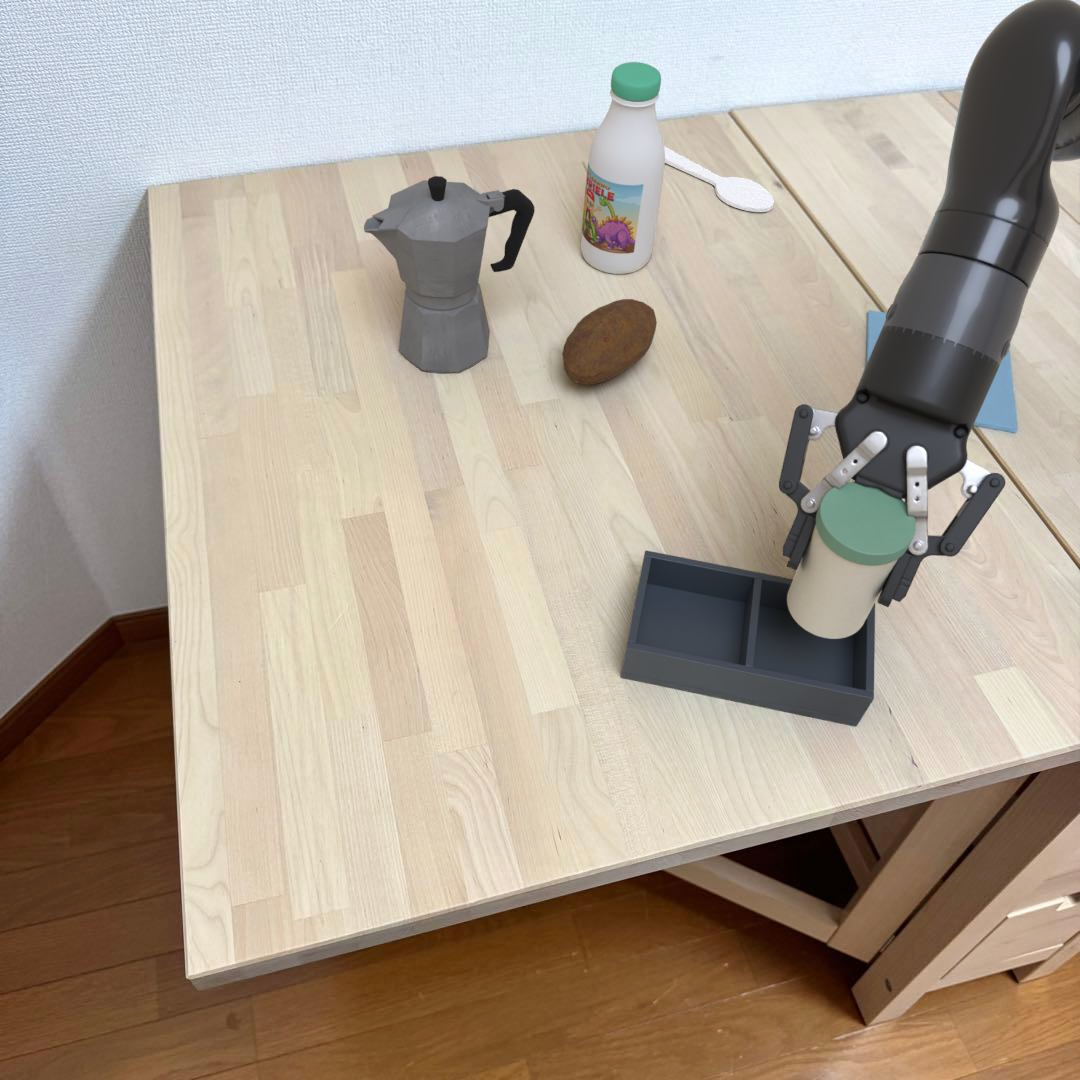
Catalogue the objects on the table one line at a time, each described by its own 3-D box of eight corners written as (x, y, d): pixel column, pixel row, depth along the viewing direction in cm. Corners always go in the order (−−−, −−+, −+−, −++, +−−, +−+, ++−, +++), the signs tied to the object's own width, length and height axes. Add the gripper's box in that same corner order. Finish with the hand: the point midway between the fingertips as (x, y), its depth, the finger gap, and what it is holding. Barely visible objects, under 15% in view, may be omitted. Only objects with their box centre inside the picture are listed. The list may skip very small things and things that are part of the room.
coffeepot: (391, 389, 94) (374, 224, 80) (367, 326, 99) (346, 161, 85) (545, 356, 97) (554, 192, 83) (513, 296, 103) (517, 133, 89)
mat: (1005, 336, 102) (1007, 333, 102) (1016, 433, 94) (1018, 429, 93) (867, 313, 103) (868, 309, 103) (865, 406, 95) (866, 402, 95)
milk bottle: (618, 223, 111) (639, 43, 95) (666, 258, 108) (696, 77, 92) (565, 249, 108) (578, 67, 92) (613, 285, 105) (634, 103, 89)
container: (869, 580, 72) (915, 490, 64) (868, 649, 69) (917, 562, 61) (786, 564, 73) (821, 473, 65) (781, 632, 69) (818, 544, 61)
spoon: (660, 139, 122) (660, 135, 122) (783, 199, 115) (784, 195, 115) (632, 156, 119) (633, 152, 119) (757, 219, 112) (758, 215, 112)
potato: (541, 383, 95) (544, 327, 90) (610, 322, 101) (617, 265, 95) (599, 416, 93) (605, 360, 87) (666, 352, 99) (676, 295, 93)
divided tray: (638, 581, 81) (645, 549, 78) (859, 625, 80) (875, 594, 76) (620, 677, 76) (626, 648, 72) (856, 727, 74) (874, 699, 71)
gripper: (1046, 386, 65) (939, 621, 68) (833, 315, 69) (740, 541, 72) (1070, 374, 58) (949, 638, 61) (831, 295, 62) (728, 547, 64)
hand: (836, 584), depth 66 cm, fingers closed on container, 5 cm apart
